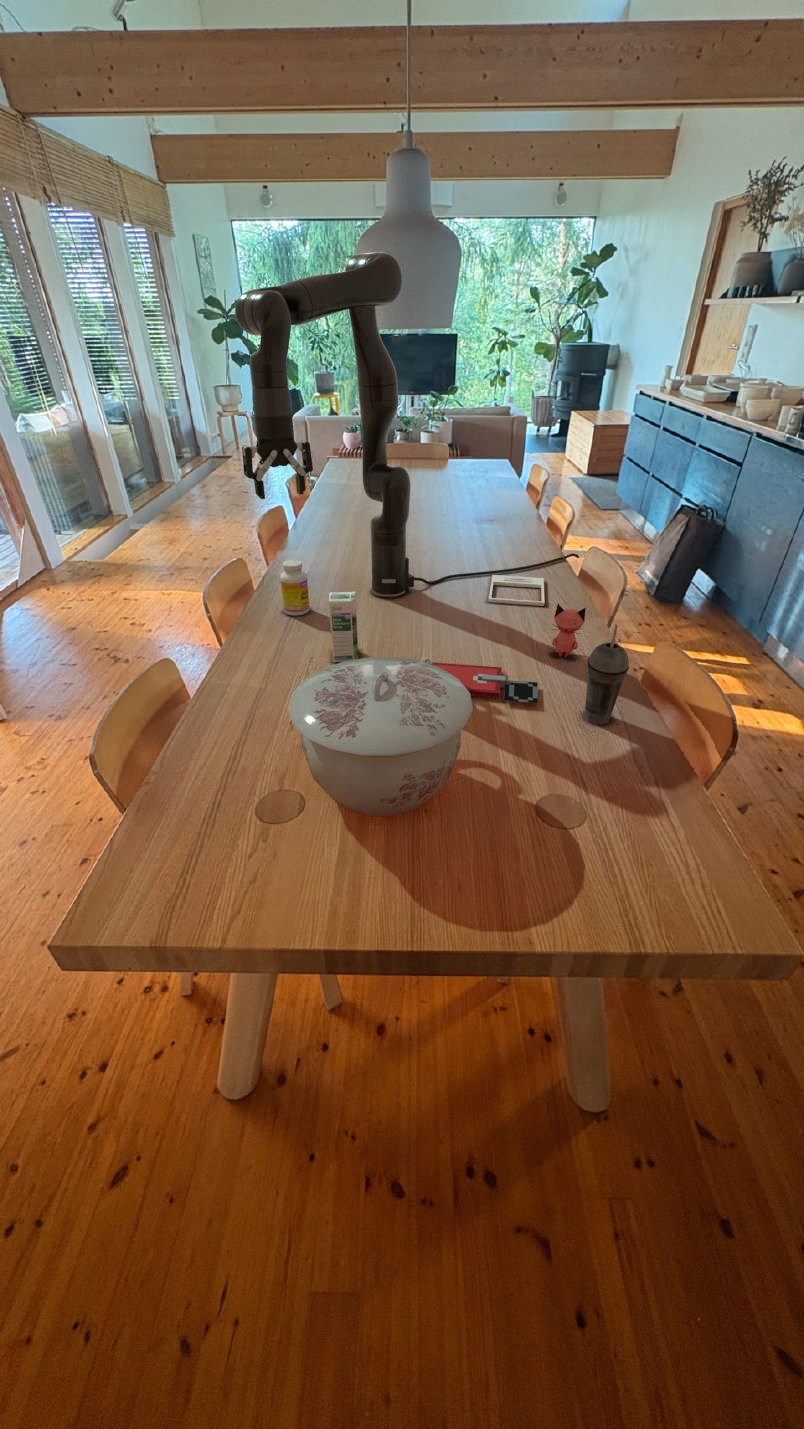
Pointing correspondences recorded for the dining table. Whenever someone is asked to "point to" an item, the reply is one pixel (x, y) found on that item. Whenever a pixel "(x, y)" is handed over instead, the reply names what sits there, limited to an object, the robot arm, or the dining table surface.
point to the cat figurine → (567, 630)
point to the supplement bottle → (294, 588)
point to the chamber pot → (381, 731)
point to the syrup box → (343, 626)
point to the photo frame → (521, 583)
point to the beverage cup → (604, 680)
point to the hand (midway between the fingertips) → (281, 496)
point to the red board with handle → (491, 682)
